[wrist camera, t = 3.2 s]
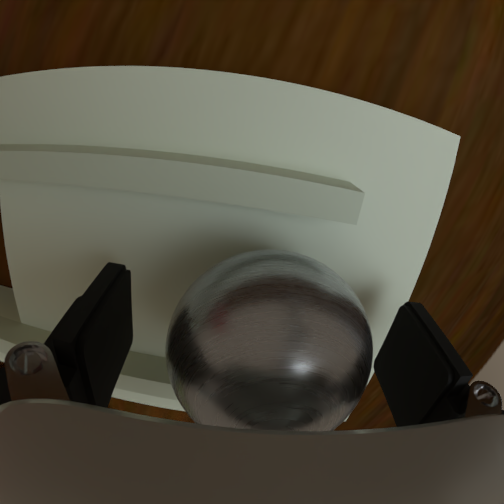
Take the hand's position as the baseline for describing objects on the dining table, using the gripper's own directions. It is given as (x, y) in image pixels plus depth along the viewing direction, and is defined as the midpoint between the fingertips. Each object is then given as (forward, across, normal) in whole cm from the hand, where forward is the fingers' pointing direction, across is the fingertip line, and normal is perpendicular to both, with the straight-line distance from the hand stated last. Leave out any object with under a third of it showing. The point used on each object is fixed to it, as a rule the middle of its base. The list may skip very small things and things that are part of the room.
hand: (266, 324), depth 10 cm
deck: (+4, +8, 0) cm, 9 cm away
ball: (-1, 0, 0) cm, 1 cm away
